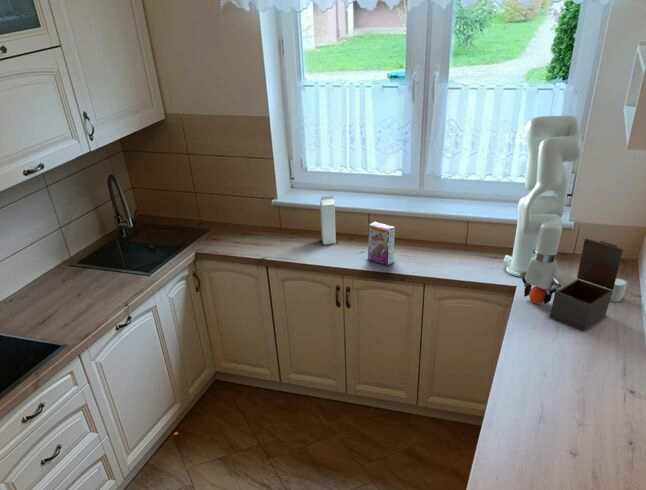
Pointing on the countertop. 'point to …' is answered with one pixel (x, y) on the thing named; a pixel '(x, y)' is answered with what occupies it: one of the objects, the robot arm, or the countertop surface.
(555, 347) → the countertop surface
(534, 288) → the clementine
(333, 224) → the milk
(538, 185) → the robot arm
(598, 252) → the lid
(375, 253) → the candy bar box
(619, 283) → the shot glass
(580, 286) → the chest
